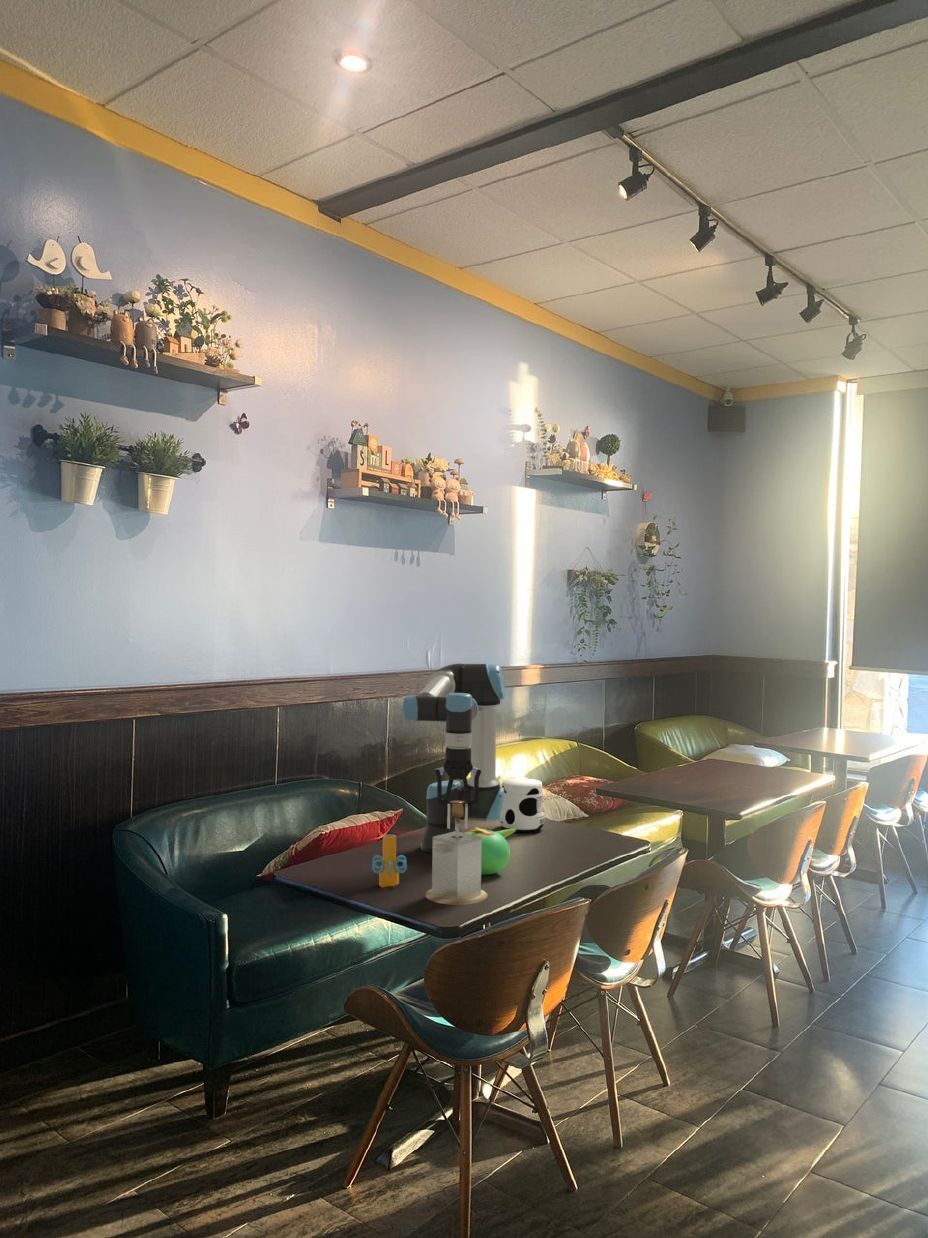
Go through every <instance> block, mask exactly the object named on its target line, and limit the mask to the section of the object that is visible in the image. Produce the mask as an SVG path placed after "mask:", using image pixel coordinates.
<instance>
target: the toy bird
mask: <svg viewBox="0 0 928 1238" xmlns="http://www.w3.org/2000/svg"><path fill="white" fill-rule="evenodd" d="M515 832H516V829H503V830H502V829H501V830H497V831H494V830H493V829H492V830H491V829H486V828H480V827H478V826H475V827H474V828H473V829H470V830H467V831H465V832H464V833H467V834H471V835H475V836H480V837H482V844H481V876H485V875H486V876H487V875H488V876H489V875H494V874H496V873H499V872H500V871H502V870H503V869H505V867H506V866H507V864H508V862H509V860H510V857H511V850H510V844H509V842H508V841H507V839H506V838H507V837H509V836H510V835H512V834H513V833H515Z"/></svg>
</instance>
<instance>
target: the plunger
mask: <svg viewBox="0 0 928 1238" xmlns="http://www.w3.org/2000/svg"><path fill="white" fill-rule="evenodd" d="M450 817H454V818H455V838H456V839H458V838H459V820H460V818H461V817H465V802H464V801H451V802H450ZM460 821H461V820H460Z"/></svg>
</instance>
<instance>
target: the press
mask: <svg viewBox="0 0 928 1238" xmlns="http://www.w3.org/2000/svg"><path fill="white" fill-rule="evenodd" d="M481 844H482V837H480V836H475V835H471V834H467V833H465V832H462V831H461V832H459V838H458V839H456V838H455V831H454V832H450V833H446V834H442V835H438V836H434V837H433V853H431V854H432V857H431V858H432V860H431V861H432V862H431V863H432V868H431V870H432V871H431V873H432V874H431V889H432V895H435V896H438V897H441V898H444V899H448V900H451V901H454V902H460V901H463V900H466V899H469V898H472V897H475V896H478V895H481V890H482V875H481Z"/></svg>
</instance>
